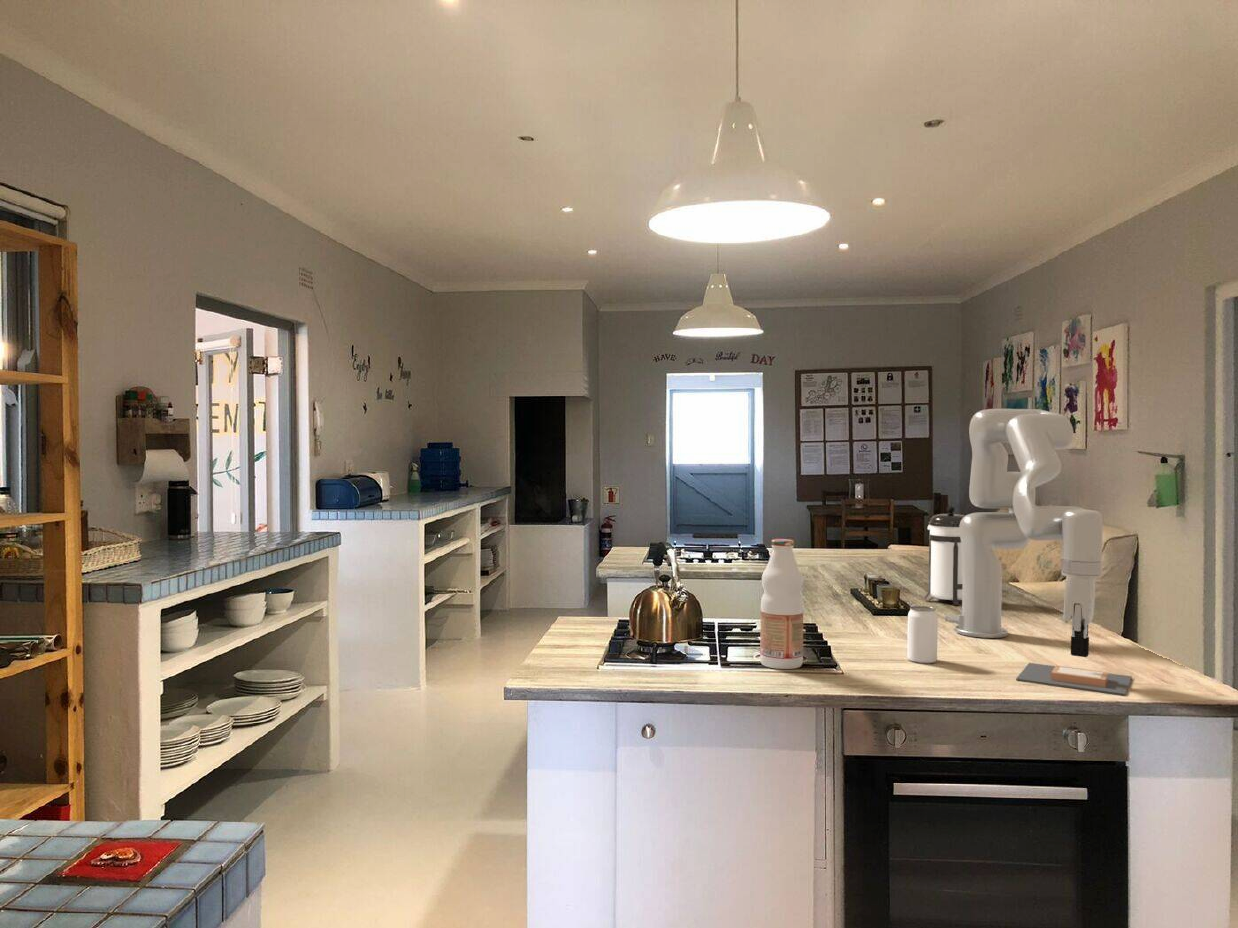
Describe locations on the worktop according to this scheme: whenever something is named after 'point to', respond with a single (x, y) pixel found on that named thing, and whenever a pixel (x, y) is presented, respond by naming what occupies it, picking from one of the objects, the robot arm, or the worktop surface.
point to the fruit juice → (782, 609)
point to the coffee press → (945, 557)
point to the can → (922, 635)
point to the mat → (1043, 676)
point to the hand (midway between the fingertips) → (1079, 655)
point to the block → (1080, 676)
